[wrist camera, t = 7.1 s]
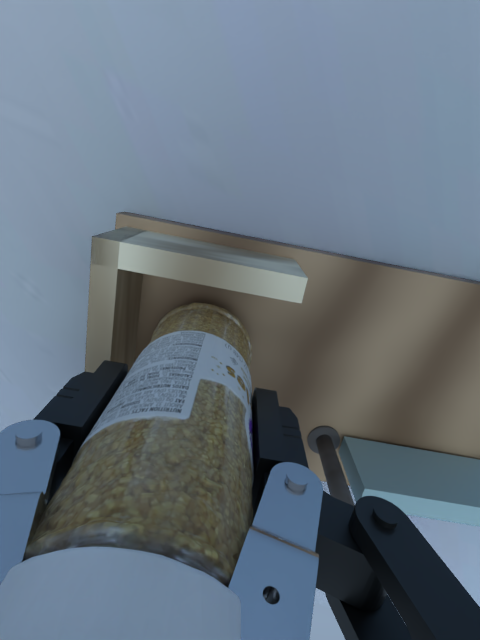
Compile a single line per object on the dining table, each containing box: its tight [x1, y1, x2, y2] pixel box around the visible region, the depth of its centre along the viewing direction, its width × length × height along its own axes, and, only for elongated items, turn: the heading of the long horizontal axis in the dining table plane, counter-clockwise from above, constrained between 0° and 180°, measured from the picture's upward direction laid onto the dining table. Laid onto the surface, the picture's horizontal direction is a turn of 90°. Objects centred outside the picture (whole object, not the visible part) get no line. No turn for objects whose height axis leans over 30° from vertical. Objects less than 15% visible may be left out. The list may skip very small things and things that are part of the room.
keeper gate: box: [339, 436, 480, 527], centre depth 19 cm, size 1×9×4 cm, turn 79°
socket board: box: [85, 212, 480, 506], centre depth 17 cm, size 22×13×7 cm, turn 79°
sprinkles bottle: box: [0, 303, 254, 640], centre depth 10 cm, size 5×5×13 cm
